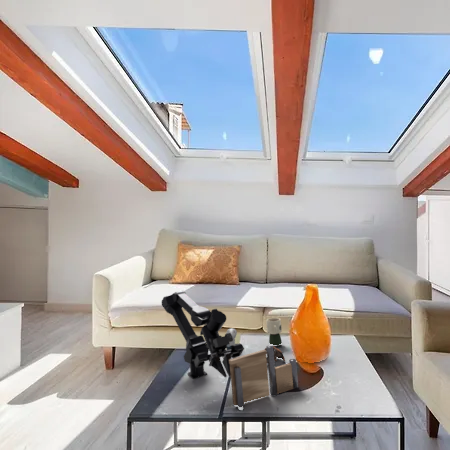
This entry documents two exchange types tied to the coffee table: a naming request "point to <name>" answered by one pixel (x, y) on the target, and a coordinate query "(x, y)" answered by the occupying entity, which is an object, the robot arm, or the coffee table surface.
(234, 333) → the grey bust figurine
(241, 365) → the gate
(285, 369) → the gate frame
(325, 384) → the coffee table surface
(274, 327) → the character mug
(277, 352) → the pottery mug
